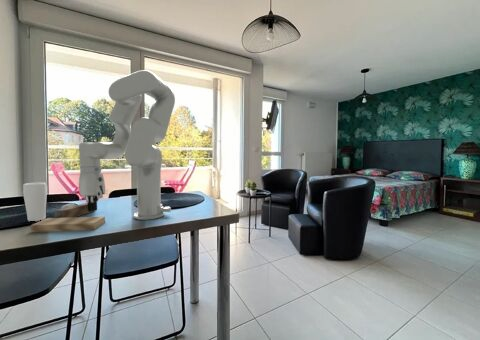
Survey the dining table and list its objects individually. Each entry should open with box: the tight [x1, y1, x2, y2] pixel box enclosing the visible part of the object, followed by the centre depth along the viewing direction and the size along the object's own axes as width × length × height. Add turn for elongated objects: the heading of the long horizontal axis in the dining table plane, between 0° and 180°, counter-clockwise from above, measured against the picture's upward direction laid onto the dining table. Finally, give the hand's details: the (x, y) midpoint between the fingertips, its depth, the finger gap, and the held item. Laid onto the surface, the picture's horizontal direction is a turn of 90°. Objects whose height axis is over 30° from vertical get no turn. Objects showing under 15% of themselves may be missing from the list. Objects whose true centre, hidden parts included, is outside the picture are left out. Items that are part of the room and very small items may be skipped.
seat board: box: [30, 216, 106, 233], centre depth 79 cm, size 20×9×2 cm, turn 100°
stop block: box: [61, 202, 76, 209], centre depth 95 cm, size 2×5×4 cm, turn 10°
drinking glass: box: [22, 181, 48, 222], centre depth 85 cm, size 7×7×15 cm
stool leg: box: [53, 202, 97, 218], centre depth 91 cm, size 18×3×4 cm, turn 171°
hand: (92, 210), depth 95 cm, fingers closed
